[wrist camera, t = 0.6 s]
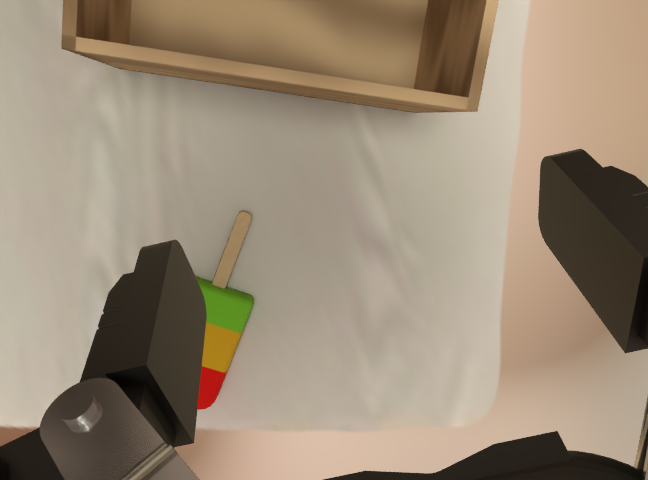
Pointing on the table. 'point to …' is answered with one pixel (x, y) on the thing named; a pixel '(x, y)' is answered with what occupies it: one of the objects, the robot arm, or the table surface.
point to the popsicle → (223, 317)
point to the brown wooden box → (299, 46)
